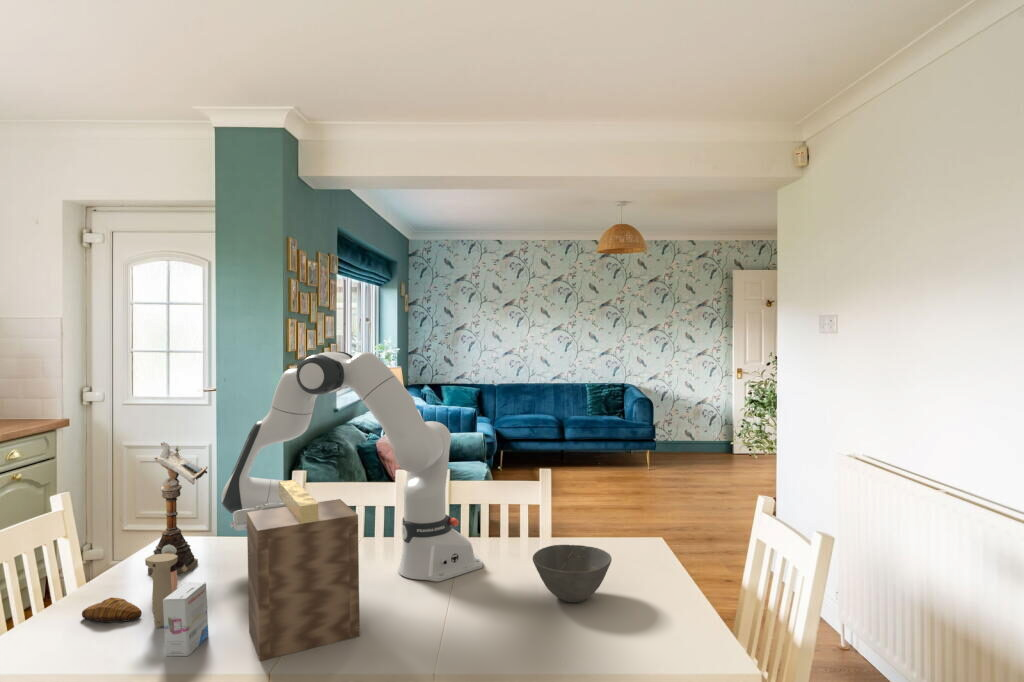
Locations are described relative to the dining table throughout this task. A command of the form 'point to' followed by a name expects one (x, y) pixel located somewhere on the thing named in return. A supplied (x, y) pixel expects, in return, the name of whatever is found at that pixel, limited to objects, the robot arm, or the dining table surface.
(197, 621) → the ink box
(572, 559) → the bowl
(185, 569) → the grandmother figurine
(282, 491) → the brass bar
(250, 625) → the walnut stand
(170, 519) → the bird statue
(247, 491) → the robot arm
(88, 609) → the croissant
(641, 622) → the dining table surface
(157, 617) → the handle
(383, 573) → the dining table surface
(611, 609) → the dining table surface
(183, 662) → the dining table surface
